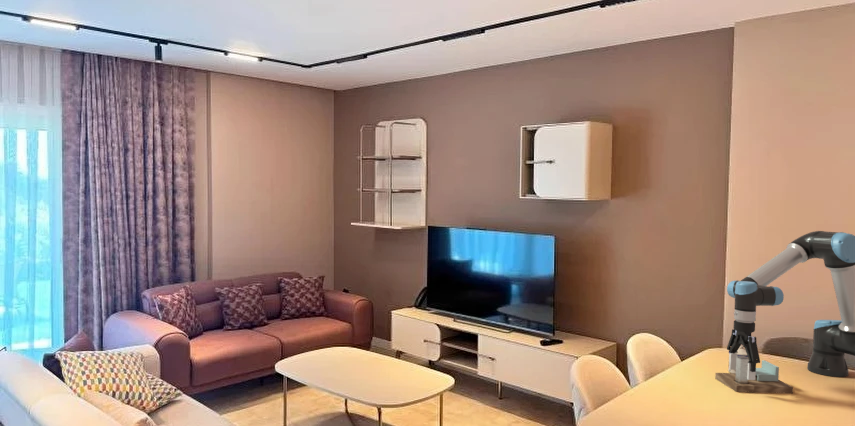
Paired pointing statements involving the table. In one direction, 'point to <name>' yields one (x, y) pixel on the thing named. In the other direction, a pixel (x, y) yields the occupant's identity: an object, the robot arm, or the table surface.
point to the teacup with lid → (740, 353)
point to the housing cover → (767, 372)
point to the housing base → (754, 385)
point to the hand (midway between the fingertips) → (741, 374)
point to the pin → (741, 370)
